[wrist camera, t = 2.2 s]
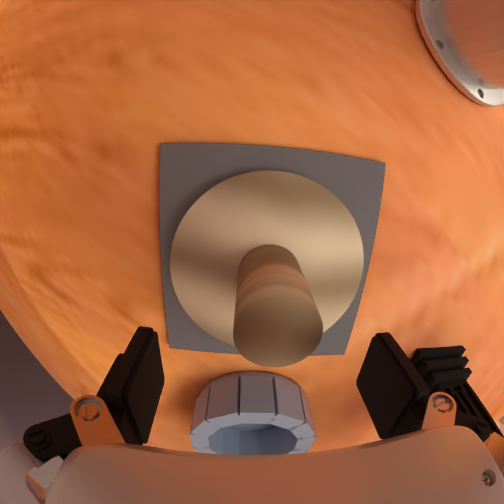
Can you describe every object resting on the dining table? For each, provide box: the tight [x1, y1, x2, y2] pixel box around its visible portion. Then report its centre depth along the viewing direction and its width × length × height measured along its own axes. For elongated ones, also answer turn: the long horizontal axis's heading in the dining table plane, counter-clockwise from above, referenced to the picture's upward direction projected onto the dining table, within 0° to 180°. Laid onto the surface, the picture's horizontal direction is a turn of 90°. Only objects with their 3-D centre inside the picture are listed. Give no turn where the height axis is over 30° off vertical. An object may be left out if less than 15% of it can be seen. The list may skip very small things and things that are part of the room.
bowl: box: [190, 371, 316, 455], centre depth 23 cm, size 11×11×5 cm
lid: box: [170, 170, 364, 367], centre depth 15 cm, size 13×13×8 cm
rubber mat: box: [159, 143, 386, 356], centre depth 19 cm, size 16×15×1 cm
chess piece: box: [410, 346, 504, 438], centre depth 15 cm, size 8×8×20 cm
